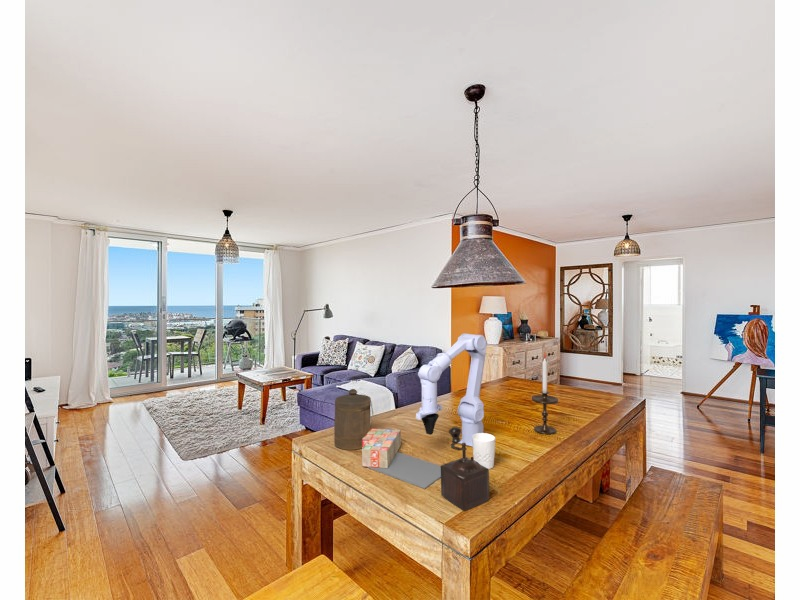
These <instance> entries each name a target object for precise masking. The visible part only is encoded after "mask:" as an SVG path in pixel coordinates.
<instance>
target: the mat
mask: <svg viewBox="0 0 800 600" xmlns="http://www.w3.org/2000/svg"><path fill="white" fill-rule="evenodd" d="M367 469H369V470H373V471H375V472H378V473H381V474H384V475H385V476H388V477H391V478H393V479H394V478H395V479H396V480H400V481H401V482H404V483H407V484H410V485H413V486H415V487H418V488H420V489H423V490H426V489H428V488H429V487H430V486H431V485H433V484H434V483H435V482H437V481H439V480H441V465H440V464H437V463H434V462H430V461H427V460H424V459H421V458H419V457H414V456H412V455H408V454H405V453H402V452H399V451H397V453H396V454H395V456H394V458H393V459H392V461H391V463H390V465H389V467H388V468H376V467H367Z"/></svg>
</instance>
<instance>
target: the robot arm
mask: <svg viewBox="0 0 800 600" xmlns="http://www.w3.org/2000/svg"><path fill="white" fill-rule="evenodd" d="M487 344H488V340H487V339H486V338H485V336H484V335H483V334H473V333H465V332H464V333H461V335H460V336H458V337H457V341H456V342H454V343H453V345H452V346H451V347H449V348H448V349H447V350H446V352H441V353H440V352H439V353H437V354H436V356H435V357H434V358H433V359H432V360H430V361H428V363H427V364H423V365H422V366H420V368H419V369H418V372H417V376H418V377H419V380H420V384H421V406H420V407H419V411H418V412H416V413H415V420H420V421H422V424H423V425H424V426H423V427H424V429H425V434H427V435H429V436H431V435H433V433H434V430H435V426H436V423H437V420H438V418H439V416H440V415H439V414H438V412H440V411H442V410H443V406H442V404H438V381H439V380H440V378H441V375H442V373H443V372H444V371H445V370H446V369H447V368H448V367H450V365H452V360H453V359H454V358H456V357H457V356H458V355H460V354H461V353H463V352H464V351H465V352H467V353H468V354H469V356H470V358H471V359H470V365H469V372H468V378H467V387H466V393H465V395H464V396H463V397H461V399H460V402H459V404H458V406H457V415H458V416H459V417H460V420H461V439H460V440H461V441H460V442H458V444H461V445H462V443H463V442H464V443H466V446H469V447H472V448H473V439H472V436H473V435H474V434H477V433H484V423H483V419H484V416H485V412H484V411H485V410H484V406H485V405H484V402H483V401H482V400H481V399H480V395H481V394H480V393H481V387H482V381H483V374H484V368H485V361H486V351H487V346H488V345H487Z"/></svg>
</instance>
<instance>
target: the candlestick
mask: <svg viewBox="0 0 800 600" xmlns="http://www.w3.org/2000/svg"><path fill="white" fill-rule="evenodd" d="M546 355H547V353H546V352H544V354H543V361H542V368H541V369H542V390H541V391H540V392H539V393H541V394H537V395H533V396H531V401H532V402H534V403H536V404H541V405H542V410H543V412H541V416H542V418H541V420H542V421H543V422H542V423H543V424H542V425H536V426H534V427H533V428H534V429H533V430H534V432H535V433H537V434H540V435H544V434H546V435H545V436H547V435H548V436H550V435H551V434H553V435H555V434H557V428H555V427H554V426H553V427H552V426H549V425H548V424H547V422H548V421H549V419H548V416H549V413H548V412H547V405H554V404H558V403H559V398H557V397H555V396H553V395H549V394H551V393H550V392H549V391H548V361H546ZM551 436H552V435H551Z"/></svg>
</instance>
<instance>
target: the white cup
mask: <svg viewBox="0 0 800 600" xmlns="http://www.w3.org/2000/svg"><path fill="white" fill-rule="evenodd" d="M472 439H473V447H472V452H473V453H472V454H473V456H472V457H473V458H474V459H473V460H475V461H477V462H478V463H479V464H480V465H482V466H484V467H486V468H488V469H489V470H491V469H493V468H494V466H495V454H496V453H495V452H496V437H495V436H494V434H493V435H492V434H491V433H487V432H483V433H477V434H474V435H473V436H472Z"/></svg>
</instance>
